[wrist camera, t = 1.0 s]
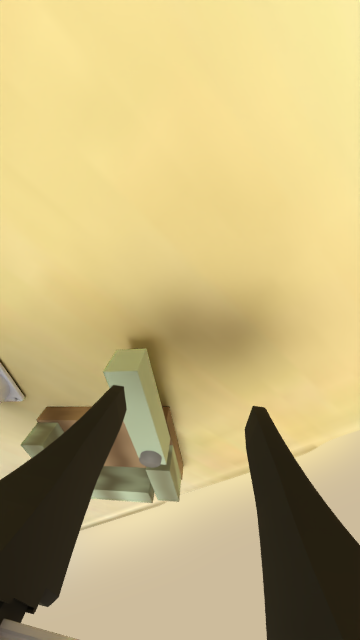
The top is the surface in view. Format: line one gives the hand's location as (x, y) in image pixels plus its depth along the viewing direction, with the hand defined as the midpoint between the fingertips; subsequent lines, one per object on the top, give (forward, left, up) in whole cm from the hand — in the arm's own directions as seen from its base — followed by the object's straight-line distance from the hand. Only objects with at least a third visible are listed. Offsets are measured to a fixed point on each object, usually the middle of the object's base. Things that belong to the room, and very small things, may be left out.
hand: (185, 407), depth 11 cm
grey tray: (-13, -19, -10) cm, 25 cm away
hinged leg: (-6, -8, -7) cm, 12 cm away
